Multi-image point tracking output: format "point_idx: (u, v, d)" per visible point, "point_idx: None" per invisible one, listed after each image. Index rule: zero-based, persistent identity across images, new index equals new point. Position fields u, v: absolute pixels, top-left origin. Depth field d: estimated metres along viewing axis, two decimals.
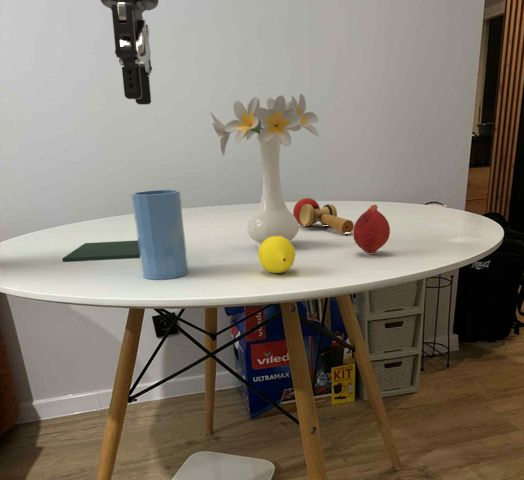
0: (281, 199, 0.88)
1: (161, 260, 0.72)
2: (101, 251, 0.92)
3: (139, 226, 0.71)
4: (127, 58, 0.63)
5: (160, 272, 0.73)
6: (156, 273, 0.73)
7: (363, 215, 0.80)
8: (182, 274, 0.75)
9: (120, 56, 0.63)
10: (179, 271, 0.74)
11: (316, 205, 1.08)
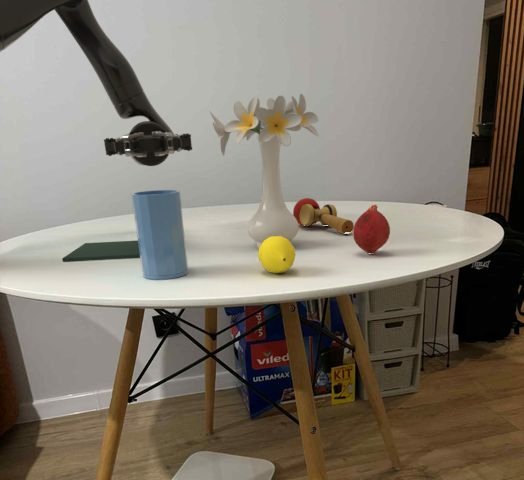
0: (281, 199, 0.88)
1: (161, 260, 0.72)
2: (101, 251, 0.92)
3: (139, 226, 0.71)
4: (187, 142, 0.84)
5: (160, 272, 0.73)
6: (156, 273, 0.73)
7: (363, 215, 0.80)
8: (182, 274, 0.75)
9: (189, 137, 0.84)
10: (179, 271, 0.74)
11: (316, 205, 1.08)
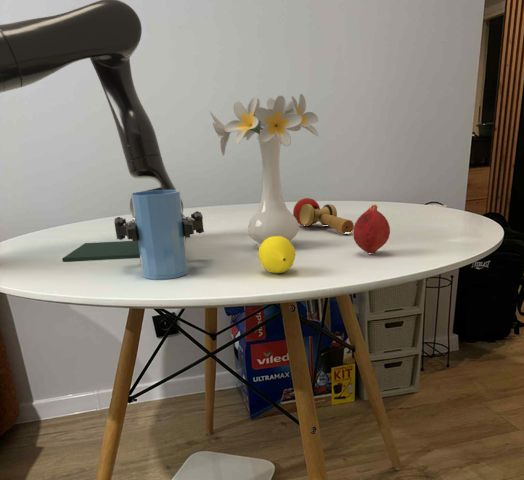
0: (281, 199, 0.88)
1: (161, 260, 0.72)
2: (101, 251, 0.92)
3: (139, 226, 0.71)
4: (198, 225, 0.77)
5: (160, 272, 0.73)
6: (156, 273, 0.73)
7: (363, 215, 0.80)
8: (182, 274, 0.75)
9: (200, 219, 0.77)
10: (179, 271, 0.74)
11: (316, 205, 1.08)
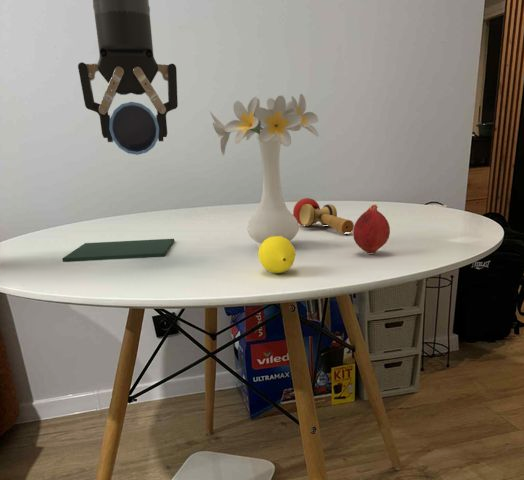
0: (281, 199, 0.88)
1: None
2: (101, 251, 0.92)
3: None
4: None
5: None
6: None
7: (363, 215, 0.80)
8: None
9: None
10: None
11: (316, 205, 1.08)
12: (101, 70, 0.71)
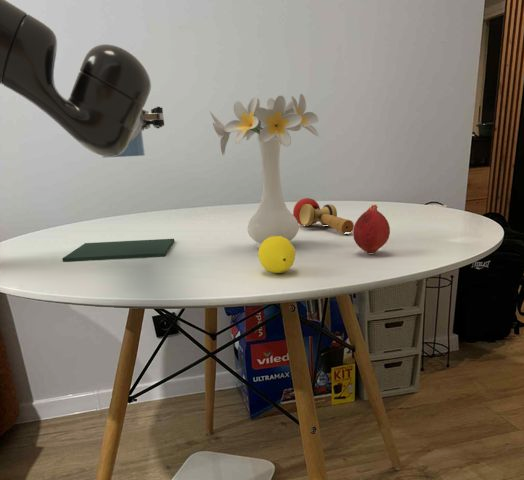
0: (281, 199, 0.88)
1: None
2: (101, 251, 0.92)
3: None
4: None
5: None
6: None
7: (363, 215, 0.80)
8: None
9: None
10: None
11: (316, 205, 1.08)
12: None
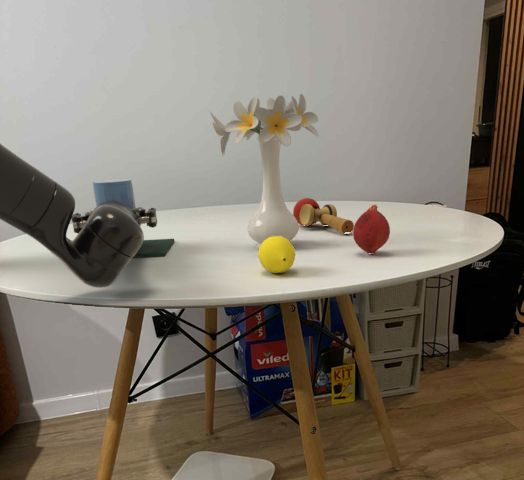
0: (281, 199, 0.88)
1: None
2: None
3: None
4: None
5: None
6: None
7: (363, 215, 0.80)
8: None
9: None
10: None
11: (316, 205, 1.08)
12: None
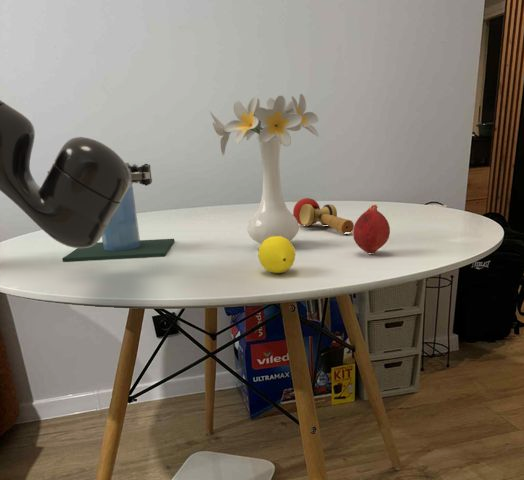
0: (281, 199, 0.88)
1: None
2: (101, 251, 0.92)
3: None
4: None
5: None
6: None
7: (363, 215, 0.80)
8: None
9: None
10: None
11: (316, 205, 1.08)
12: None
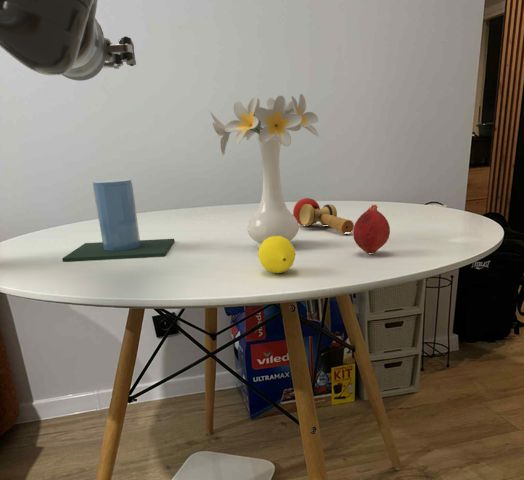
0: (281, 199, 0.88)
1: None
2: (101, 251, 0.92)
3: None
4: None
5: None
6: None
7: (363, 215, 0.80)
8: None
9: None
10: None
11: (316, 205, 1.08)
12: None
